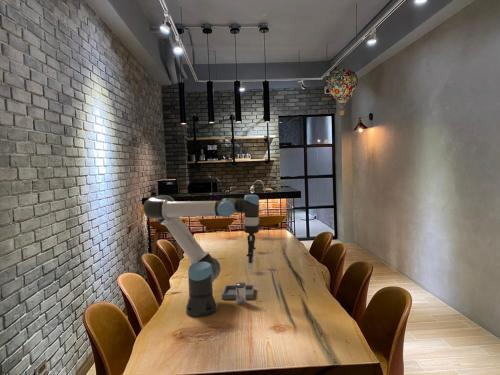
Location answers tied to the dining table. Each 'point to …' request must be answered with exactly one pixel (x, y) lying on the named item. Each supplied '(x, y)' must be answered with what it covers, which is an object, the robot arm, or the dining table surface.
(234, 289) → the tray
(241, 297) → the shaker
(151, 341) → the dining table surface
